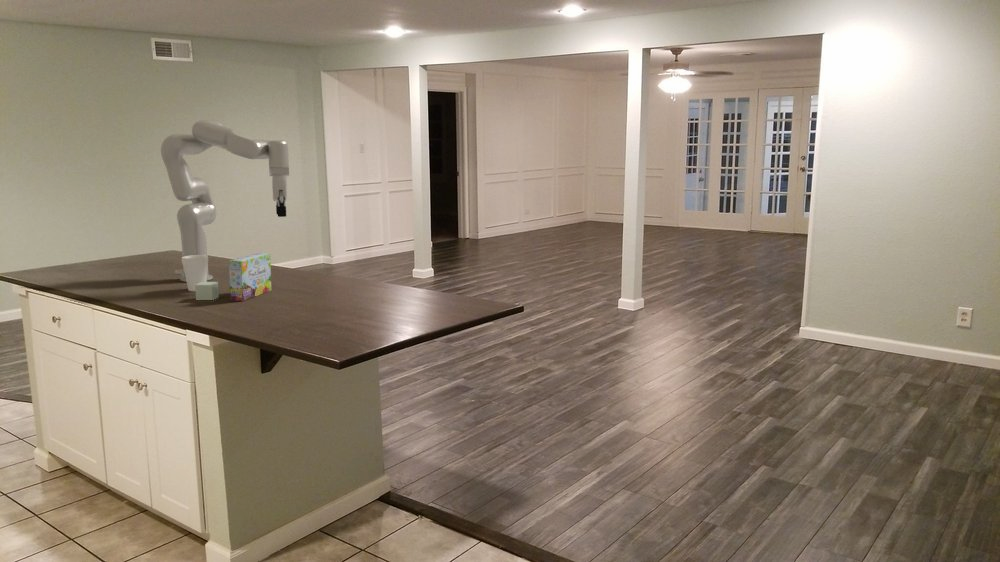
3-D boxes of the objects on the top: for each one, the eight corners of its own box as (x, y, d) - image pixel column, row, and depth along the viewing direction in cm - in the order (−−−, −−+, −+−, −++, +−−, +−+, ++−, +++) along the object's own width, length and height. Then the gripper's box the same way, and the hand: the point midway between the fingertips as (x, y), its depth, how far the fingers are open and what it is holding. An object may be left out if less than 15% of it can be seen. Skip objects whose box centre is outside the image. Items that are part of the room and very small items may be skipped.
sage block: (196, 301, 271) (195, 284, 270) (202, 297, 277) (201, 281, 276) (212, 301, 271) (211, 284, 270) (218, 297, 277) (217, 281, 276)
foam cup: (178, 290, 289) (176, 257, 286) (198, 286, 297) (196, 254, 294) (195, 293, 284) (193, 259, 282) (215, 288, 293) (213, 256, 290)
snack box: (243, 301, 270) (241, 260, 267) (229, 301, 271) (227, 260, 268) (272, 290, 290) (270, 252, 287) (259, 290, 291) (257, 251, 288)
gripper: (268, 171, 301) (270, 213, 304) (270, 173, 285) (272, 217, 288) (287, 171, 303) (289, 213, 307) (290, 173, 287) (292, 217, 291)
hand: (281, 215), depth 297 cm, fingers open, 9 cm apart
